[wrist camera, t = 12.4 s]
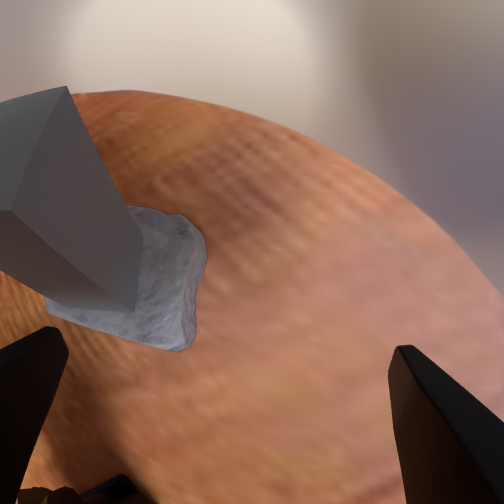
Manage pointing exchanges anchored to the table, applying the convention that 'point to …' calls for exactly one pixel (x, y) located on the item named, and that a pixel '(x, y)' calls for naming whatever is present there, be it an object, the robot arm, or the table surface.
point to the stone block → (155, 286)
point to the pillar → (63, 208)
